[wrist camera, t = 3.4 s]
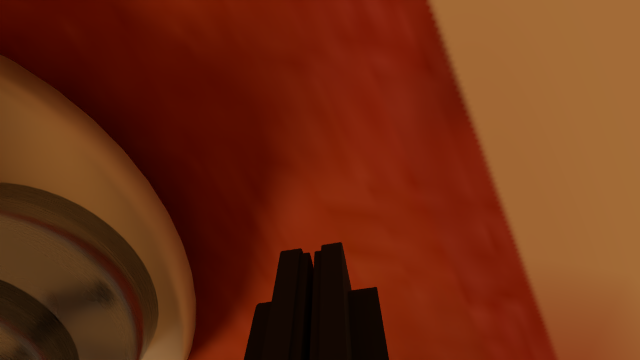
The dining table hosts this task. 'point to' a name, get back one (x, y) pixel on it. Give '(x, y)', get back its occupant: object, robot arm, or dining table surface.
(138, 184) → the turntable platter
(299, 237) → the dining table surface
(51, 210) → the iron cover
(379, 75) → the dining table surface
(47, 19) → the dining table surface
